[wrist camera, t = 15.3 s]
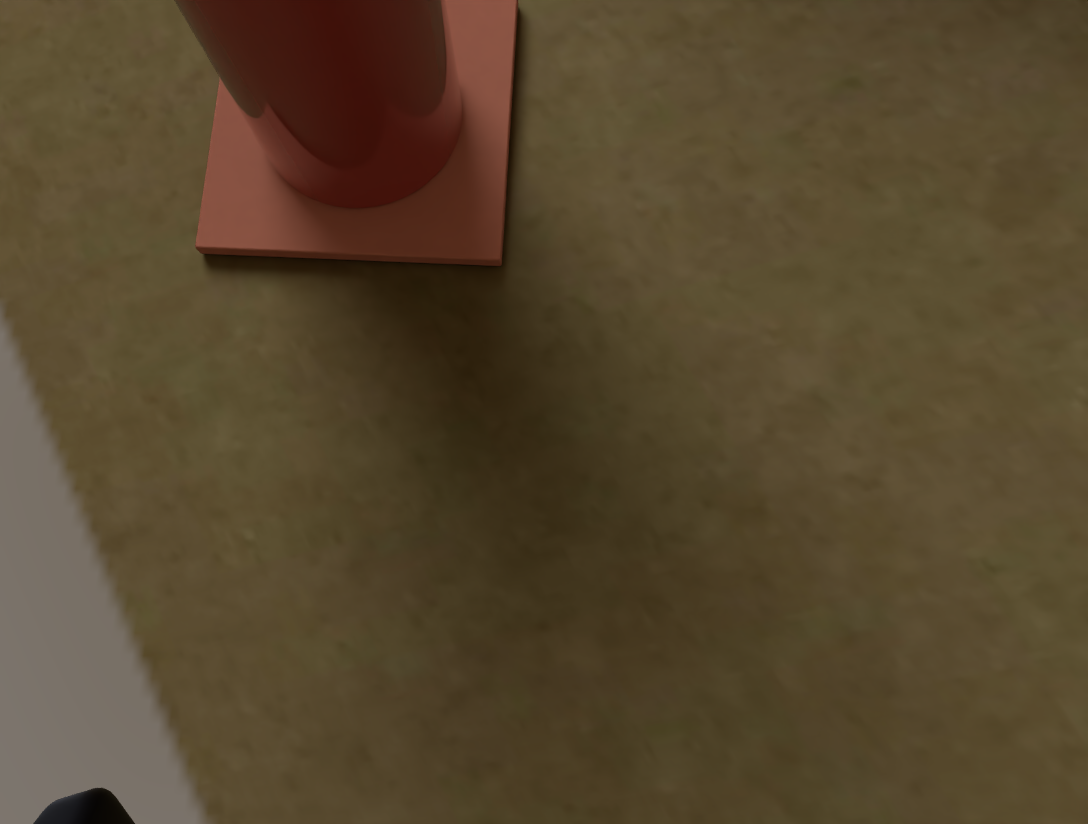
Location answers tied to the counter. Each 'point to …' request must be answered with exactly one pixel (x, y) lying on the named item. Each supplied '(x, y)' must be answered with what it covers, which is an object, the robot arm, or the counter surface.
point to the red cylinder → (339, 89)
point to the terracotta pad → (392, 229)
